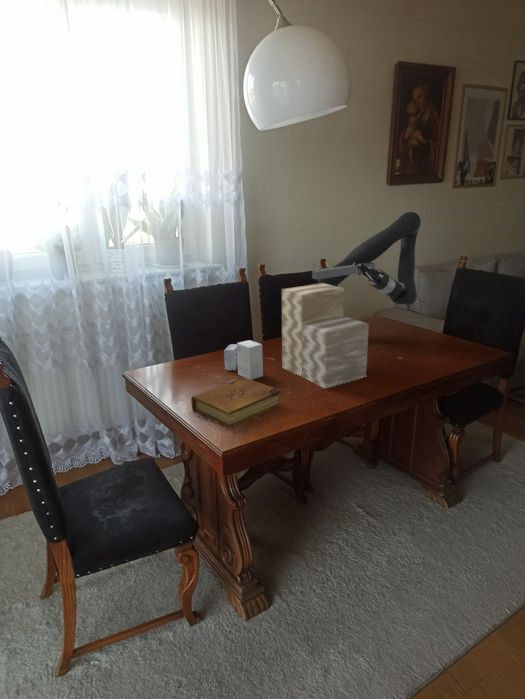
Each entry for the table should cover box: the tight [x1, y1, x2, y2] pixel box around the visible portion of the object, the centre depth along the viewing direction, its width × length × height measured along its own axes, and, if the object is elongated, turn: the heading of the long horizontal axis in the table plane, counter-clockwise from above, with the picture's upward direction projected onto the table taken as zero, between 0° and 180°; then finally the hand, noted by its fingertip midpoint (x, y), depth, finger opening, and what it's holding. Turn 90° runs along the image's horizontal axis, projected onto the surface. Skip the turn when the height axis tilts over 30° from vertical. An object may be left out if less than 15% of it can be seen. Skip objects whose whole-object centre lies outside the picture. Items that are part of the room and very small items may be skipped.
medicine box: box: [223, 343, 238, 372], centre depth 203 cm, size 8×4×9 cm, turn 168°
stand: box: [281, 283, 370, 389], centre depth 192 cm, size 27×20×32 cm
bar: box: [311, 262, 376, 280], centre depth 199 cm, size 3×30×3 cm, turn 123°
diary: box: [190, 376, 282, 429], centre depth 167 cm, size 23×19×6 cm
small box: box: [236, 339, 264, 380], centre depth 193 cm, size 8×6×13 cm
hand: (356, 265), depth 202 cm, fingers closed on bar, 3 cm apart
